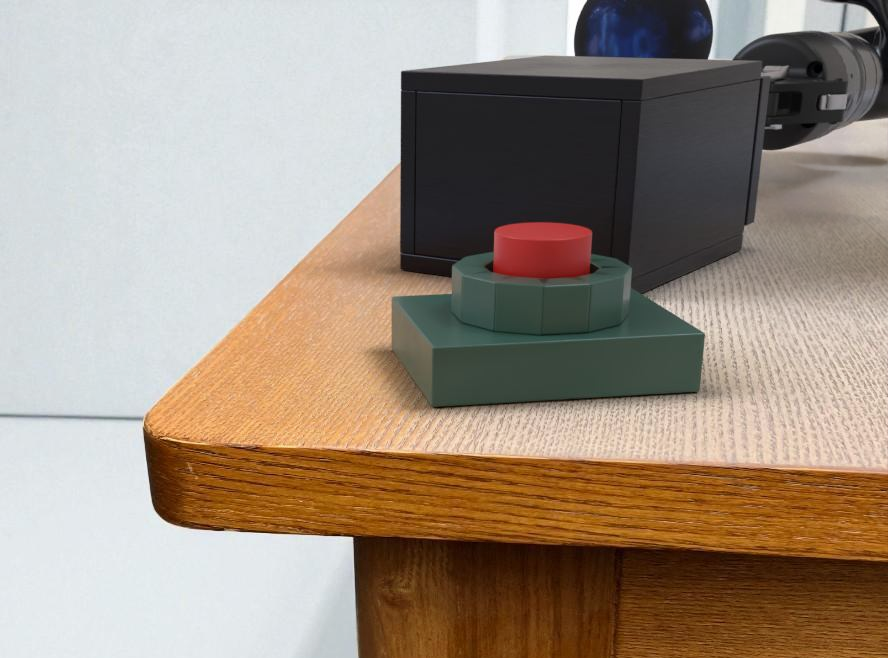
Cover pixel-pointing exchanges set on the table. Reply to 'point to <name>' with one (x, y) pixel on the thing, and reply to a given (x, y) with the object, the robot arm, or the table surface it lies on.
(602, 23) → the decorative sphere
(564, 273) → the button
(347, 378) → the table surface
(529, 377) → the block
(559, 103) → the black paneled box
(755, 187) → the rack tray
